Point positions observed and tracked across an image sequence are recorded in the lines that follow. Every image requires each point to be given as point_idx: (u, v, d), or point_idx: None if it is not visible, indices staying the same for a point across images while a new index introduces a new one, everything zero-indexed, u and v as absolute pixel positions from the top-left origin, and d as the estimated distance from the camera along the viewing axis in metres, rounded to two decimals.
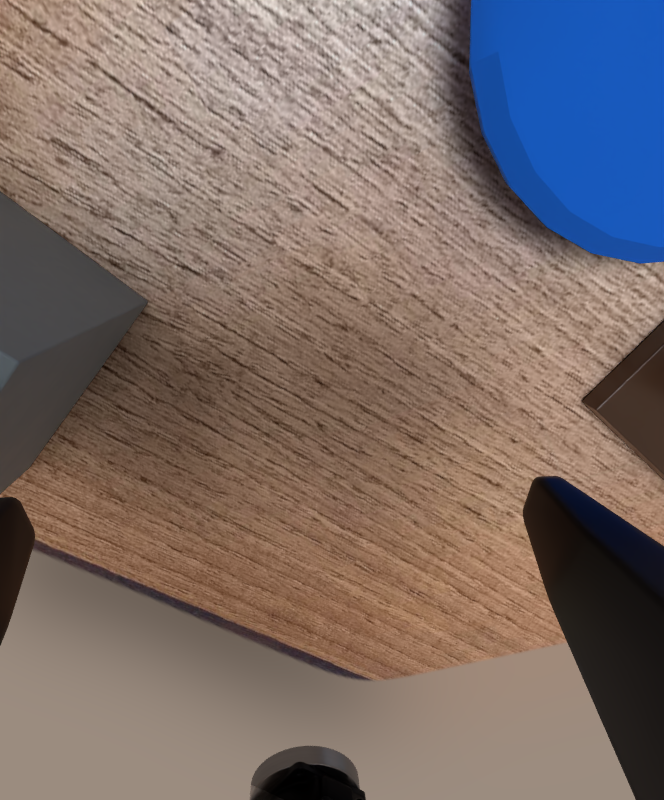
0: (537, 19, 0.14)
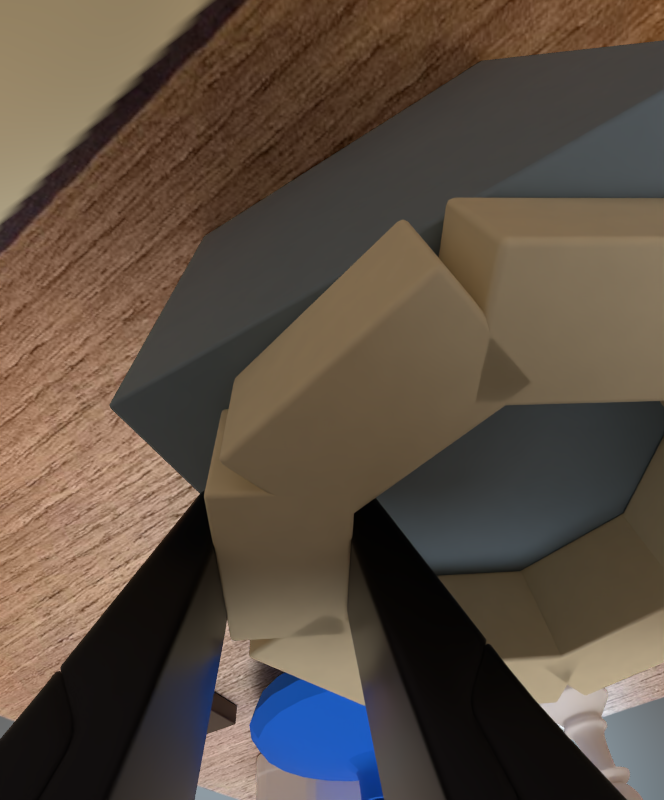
0: None
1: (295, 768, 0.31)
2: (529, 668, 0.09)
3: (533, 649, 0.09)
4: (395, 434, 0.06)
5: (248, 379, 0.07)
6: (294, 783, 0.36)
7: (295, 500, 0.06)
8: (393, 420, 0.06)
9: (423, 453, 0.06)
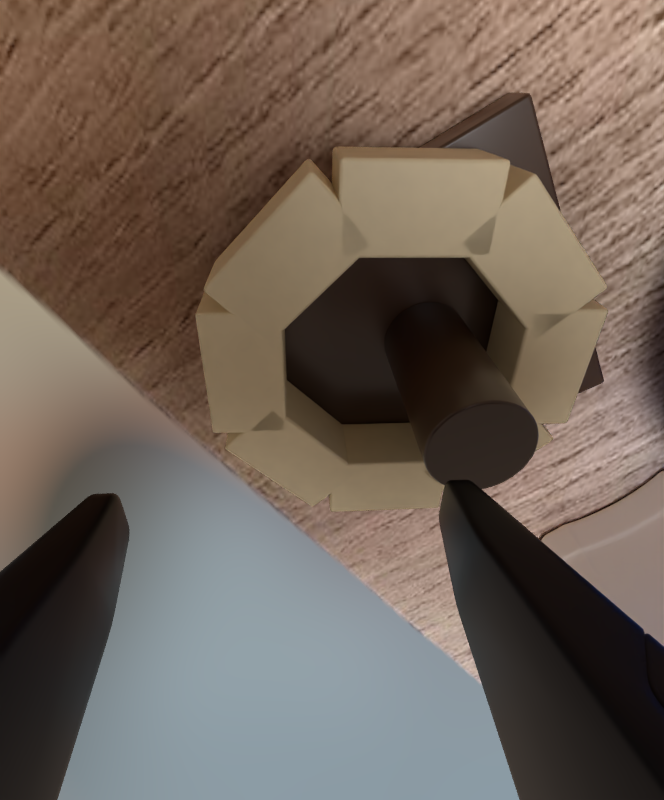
0: None
1: None
2: (412, 470, 0.14)
3: (415, 459, 0.14)
4: (300, 274, 0.10)
5: (222, 256, 0.12)
6: None
7: (247, 319, 0.11)
8: (297, 264, 0.10)
9: (317, 287, 0.11)
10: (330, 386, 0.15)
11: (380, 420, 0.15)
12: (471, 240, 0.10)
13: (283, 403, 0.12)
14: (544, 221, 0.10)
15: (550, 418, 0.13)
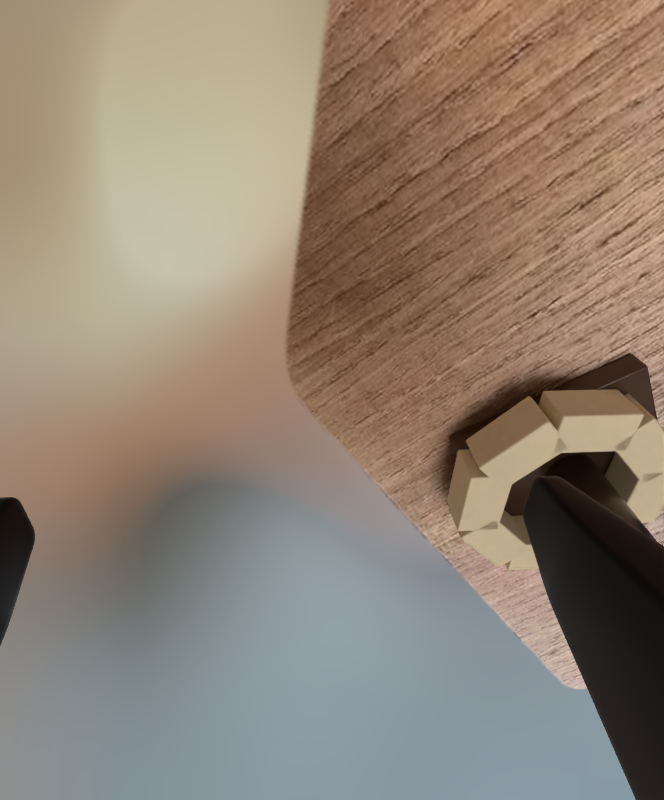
0: None
1: None
2: None
3: None
4: (530, 460, 0.20)
5: (476, 441, 0.21)
6: None
7: (497, 480, 0.21)
8: (530, 457, 0.20)
9: (536, 466, 0.21)
10: (509, 496, 0.24)
11: None
12: (618, 444, 0.20)
13: (501, 516, 0.22)
14: (656, 436, 0.20)
15: (645, 520, 0.23)
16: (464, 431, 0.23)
